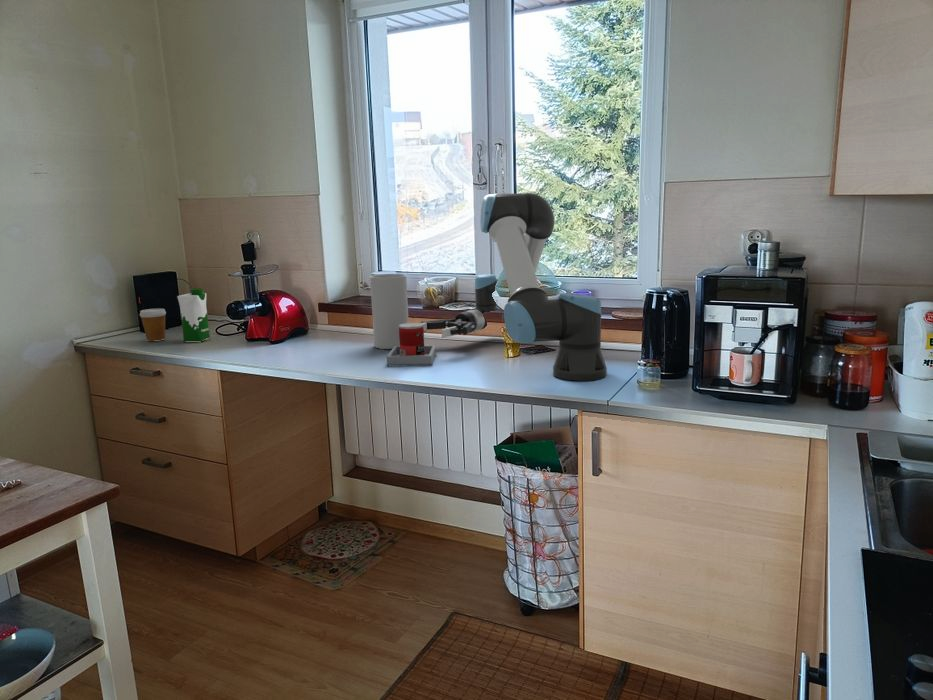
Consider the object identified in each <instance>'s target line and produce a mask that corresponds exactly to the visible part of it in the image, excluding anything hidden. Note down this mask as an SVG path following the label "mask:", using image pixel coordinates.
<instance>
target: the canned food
mask: <svg viewBox="0 0 933 700" xmlns="http://www.w3.org/2000/svg"><path fill="white" fill-rule="evenodd" d="M399 341H400V356H414V355H425V350H424V346H425V332H424V327H423V324H421V322H409V323H404V324H400V325H399Z"/></svg>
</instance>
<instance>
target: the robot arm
mask: <svg viewBox="0 0 933 700" xmlns="http://www.w3.org/2000/svg"><path fill="white" fill-rule="evenodd" d="M479 220H480V221H479V222H480V223H479V224H480V229H481V230H480V231H481V232H482V233H485V234H488V235H489V238H490V239H491V240H492V241H493V242H494V243H496V246H497V249H498V253H499V257H500V261H501V265H502V269H503V272H504V276H505V279H506V281H507V284H508V288H509V292H510V297H509V299H508V300H507V301H506V302H507V303H506V304H505V305H504V308H503V320H504V326H505V330H506V332H507V335H508V337H509V338H510V339H511V340H512V341H513V342H515V343H518V344H532V343H542V342H543V343H544V342H556V341H558V342H559V343H558V344H559V345H558V346H559V347H558V350H557V351H558V352H557V355H556V357H555V361H554V364H553V367H552V369H553V370H552V375H553V377H555V376H556V377H555V378H557V377H558V378H557V379H560V378H562V379H561V380H564V379H568V380H567V381H571V380H580V381H579V382H587V381H589V382H591V381H596V380H597V381H598V380H601V379H604V378H606V377H607V375H608V374H607V365H606V362H605V359H604V355H603V351H602V348H601V347H602V345H601V344H602V343H601V340H602V337H601V336H602V314H603V312H602V306H601V305H602V304H601V300H600V299H599V298H598V297H596V296H594V295H588V294H582V293H574V292H573V293H572V292H562V293H559V295H558V298H557V299H555V298H554V299H553V298H552V299H551V298H550V299H549V296H548V294H547V292H546V290H545V289H543V288H541V287H540V285H539V281H538V279H537V275H536V273H537V269H538V267H539V266H538V265H539V263H540V260H541V258H542V255H543V253H544V248H545V245H546V243H547V239H549V238H550V237H551V236H552V234H553V232H554V228H555V214H554V212H553V208H552V206H551V205H550V204H549V202H548V201H547V200H546V199H545V198H544V197H543V196H541V195H539V194H536V193H533V192H526V193H523V192H522V193H497V192H495V193H494V194H493V193H492V194H490V193H489V194H487V195H484V197H483V198H482V202H481V209H480V219H479ZM498 279H499V278H498ZM498 279H497V277H496V274H494V273H492V274H491V273H483V274H481V273H480V274H477V275H476V276H475V279H474V294H475V296H474V297H475V309H472V310H467V311H464V312H459V313H457V314H456V315H455V317H454V318H450V319H447V318H443V319H436V320H434V319H433V320H426V321H425V320H424V321H423V320H422V321H420V323H421V324H423V327H424V333H426V332H427V331H428V330H441V338H442V339H444V338H448V337H449V338H450V337H453V336H457V335H463V336H466V335H468V334H470V333H473V334H474V333H475V334H476V331H477V332H479V331H481V330H485V329H484V328H485V327H486V326H487V321H486V319H484V318H485V317H484V316H483V313H484V312H490V311H496V310H498V309H500V308H499V307H498V306H497V301H496V302H495V301H494V299H493V297H492V293H493V292H494V291H495V285H496V283H497V281H498Z"/></svg>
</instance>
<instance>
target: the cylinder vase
mask: <svg viewBox="0 0 933 700" xmlns="http://www.w3.org/2000/svg"><path fill="white" fill-rule="evenodd" d="M369 281H370V300H371V314H372V315H371V316H372V332H373V335H372V336H373V346H374V347H375V348H376V349H378V348H379V350H384V349H392V348H393V347H394V346H400V341H399V325H400V324H404V323H410V321H409V306H408V305H409V303H408V282H407V281H408V280H407V274H403V273H402V274H401V273H387V274H386V273H385V274H376V275H375V274H374V275H370V276H369Z"/></svg>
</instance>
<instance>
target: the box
mask: <svg viewBox="0 0 933 700" xmlns="http://www.w3.org/2000/svg"><path fill="white" fill-rule="evenodd" d="M424 350H425V355H414V356H400V346H394V347H393V348H392V350H390V352H389V353H388V354H387V355H386V366H387V367H396V366H395V365H419V366H433V364H432V363H434V361H435V359H434V358H436V356H437V345H435V344H430V345H426V344H424ZM389 365H391V366H389ZM392 365H394V366H392Z"/></svg>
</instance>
